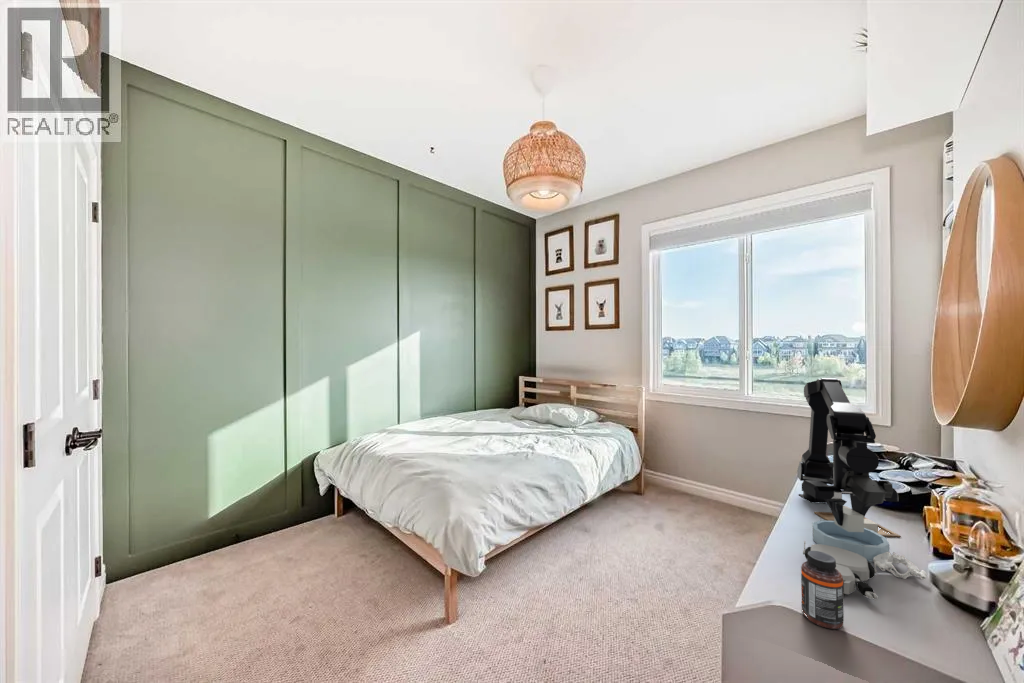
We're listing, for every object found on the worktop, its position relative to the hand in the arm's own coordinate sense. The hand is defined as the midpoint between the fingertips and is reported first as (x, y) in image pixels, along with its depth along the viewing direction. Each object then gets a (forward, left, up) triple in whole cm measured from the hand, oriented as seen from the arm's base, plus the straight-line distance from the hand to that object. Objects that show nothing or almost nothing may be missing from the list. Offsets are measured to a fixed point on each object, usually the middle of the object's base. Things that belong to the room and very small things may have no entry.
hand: (848, 525), depth 97 cm
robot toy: (+15, -13, -6) cm, 21 cm away
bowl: (0, 0, -5) cm, 5 cm away
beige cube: (0, 0, -1) cm, 1 cm away
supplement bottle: (+28, -25, -6) cm, 38 cm away
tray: (-13, +11, -5) cm, 18 cm away
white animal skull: (+11, +2, -6) cm, 13 cm away
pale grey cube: (-8, +10, -5) cm, 14 cm away
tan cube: (-17, +11, -5) cm, 21 cm away
